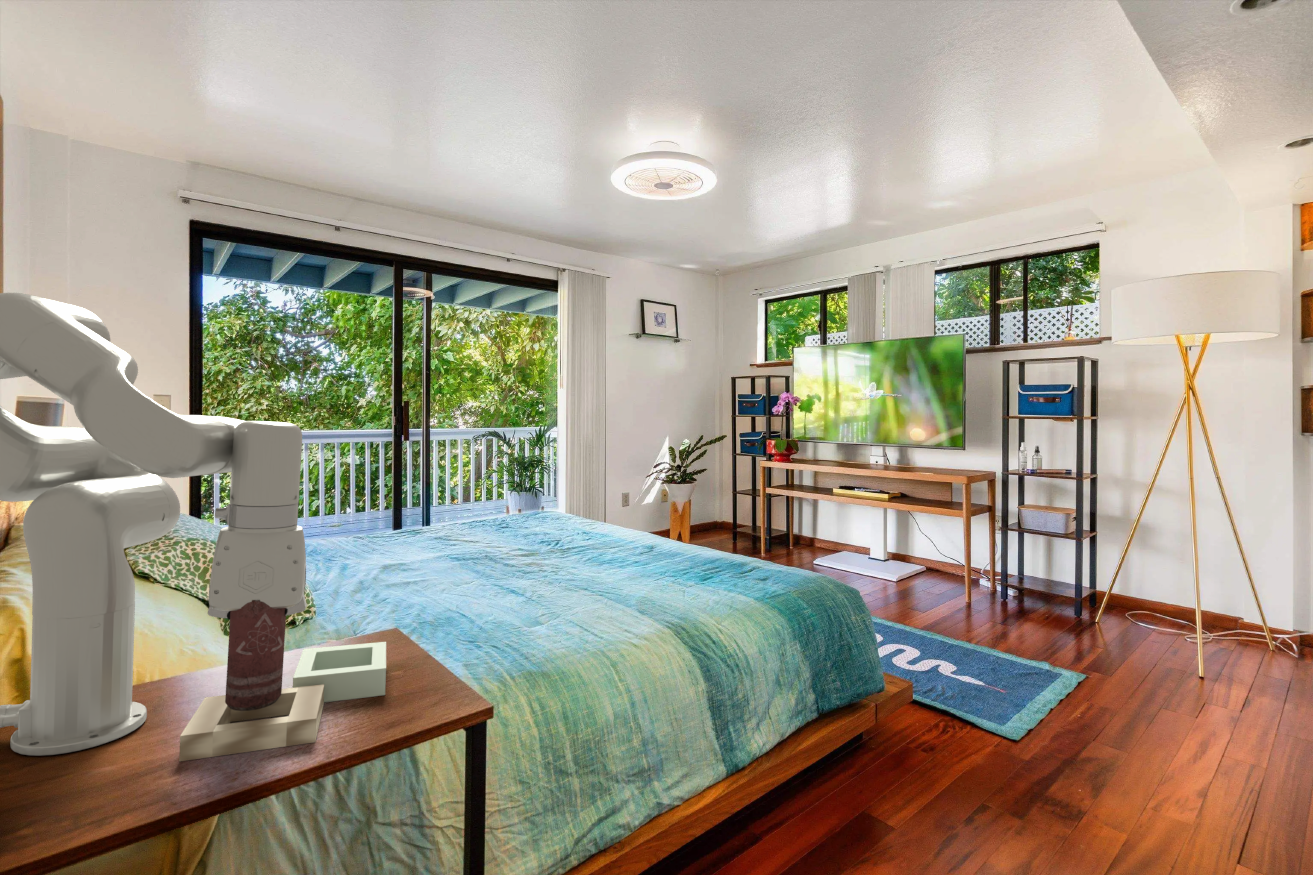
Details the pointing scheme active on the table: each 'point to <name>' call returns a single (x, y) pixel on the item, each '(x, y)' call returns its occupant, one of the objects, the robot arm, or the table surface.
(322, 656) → the pale green square frame
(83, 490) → the robot arm
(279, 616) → the can
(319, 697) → the socket block
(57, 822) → the table surface
